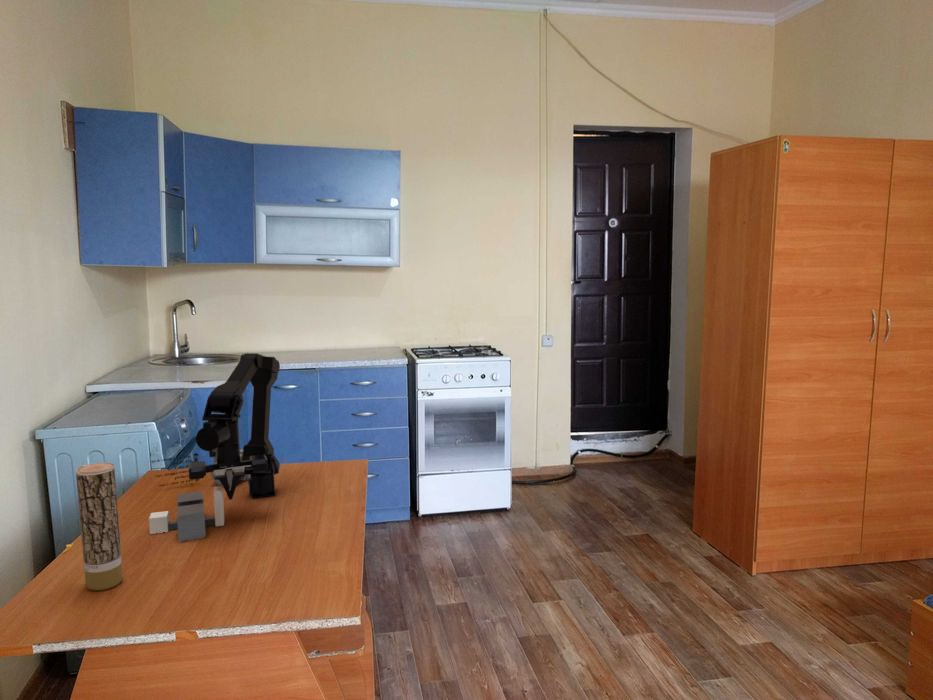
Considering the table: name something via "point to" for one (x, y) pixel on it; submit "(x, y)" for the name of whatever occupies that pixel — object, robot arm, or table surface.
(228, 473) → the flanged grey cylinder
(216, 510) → the grey rod with blocks
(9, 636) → the table surface
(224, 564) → the table surface
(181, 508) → the block
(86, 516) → the wooden log
